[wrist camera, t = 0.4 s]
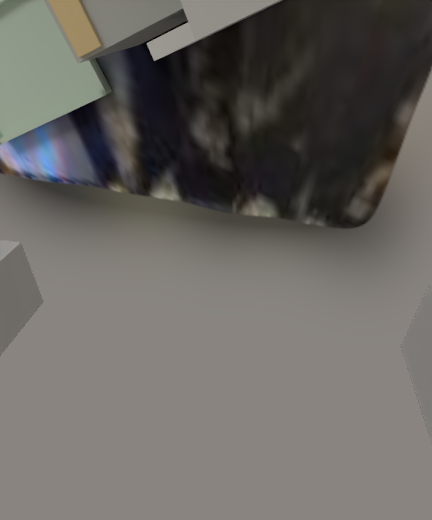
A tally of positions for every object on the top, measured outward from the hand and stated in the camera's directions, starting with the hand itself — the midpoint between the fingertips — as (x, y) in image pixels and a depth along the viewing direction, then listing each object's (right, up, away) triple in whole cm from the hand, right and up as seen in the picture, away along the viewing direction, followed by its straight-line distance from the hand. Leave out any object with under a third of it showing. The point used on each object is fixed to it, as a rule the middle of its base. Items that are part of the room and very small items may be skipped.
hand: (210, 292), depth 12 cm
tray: (-17, +19, +20) cm, 32 cm away
